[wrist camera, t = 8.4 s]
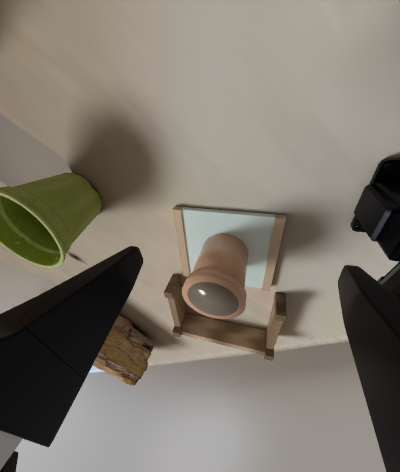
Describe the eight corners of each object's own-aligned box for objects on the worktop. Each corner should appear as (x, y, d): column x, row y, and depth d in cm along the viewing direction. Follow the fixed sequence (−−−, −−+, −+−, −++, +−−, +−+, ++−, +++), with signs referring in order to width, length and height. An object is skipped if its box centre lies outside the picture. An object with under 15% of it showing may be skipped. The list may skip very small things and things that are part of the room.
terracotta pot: (253, 234, 22) (248, 284, 17) (248, 273, 26) (242, 325, 20) (199, 228, 23) (177, 272, 18) (201, 266, 27) (185, 312, 22)
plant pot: (112, 173, 23) (48, 211, 16) (115, 234, 29) (70, 279, 22) (39, 147, 23) (-51, 173, 17) (57, 212, 30) (-4, 250, 23)
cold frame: (285, 293, 27) (286, 321, 24) (272, 335, 33) (272, 360, 30) (172, 274, 31) (162, 295, 28) (181, 314, 37) (173, 335, 34)
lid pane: (285, 215, 20) (286, 219, 20) (269, 286, 27) (269, 291, 26) (174, 206, 23) (172, 209, 23) (184, 272, 30) (183, 276, 29)
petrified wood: (164, 339, 45) (139, 391, 39) (143, 337, 55) (121, 378, 49) (88, 292, 40) (46, 343, 34) (80, 299, 50) (47, 340, 44)
